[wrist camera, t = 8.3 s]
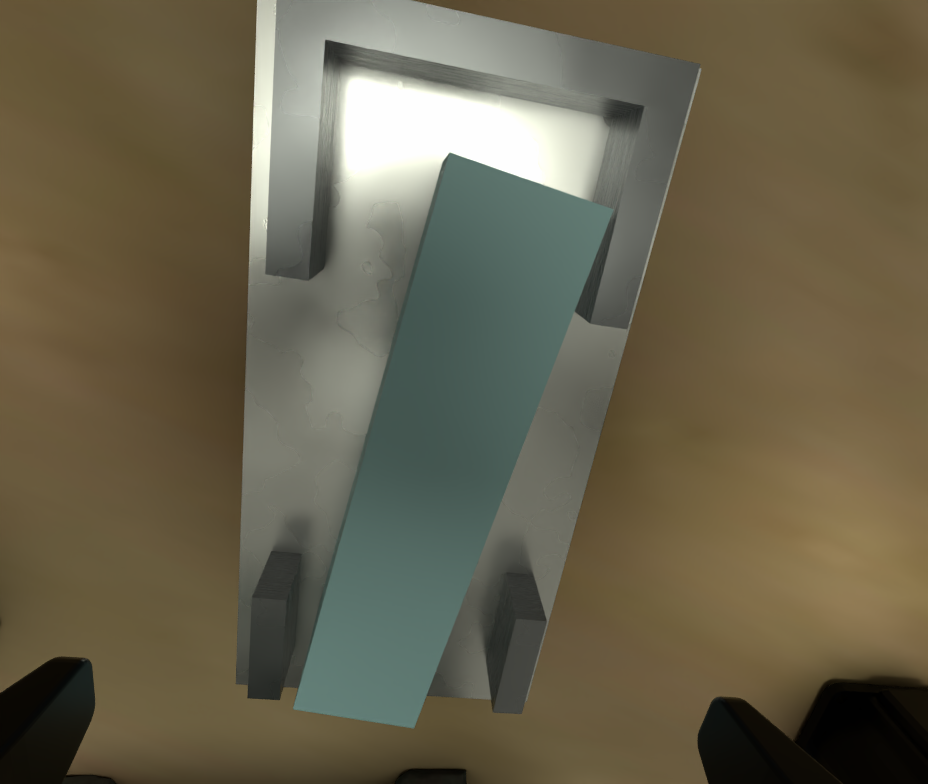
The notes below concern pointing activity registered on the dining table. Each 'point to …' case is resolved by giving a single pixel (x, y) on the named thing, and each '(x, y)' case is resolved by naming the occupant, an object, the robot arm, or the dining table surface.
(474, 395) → the rail
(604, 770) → the dining table surface
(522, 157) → the cup bracket
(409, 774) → the ceramic cat
